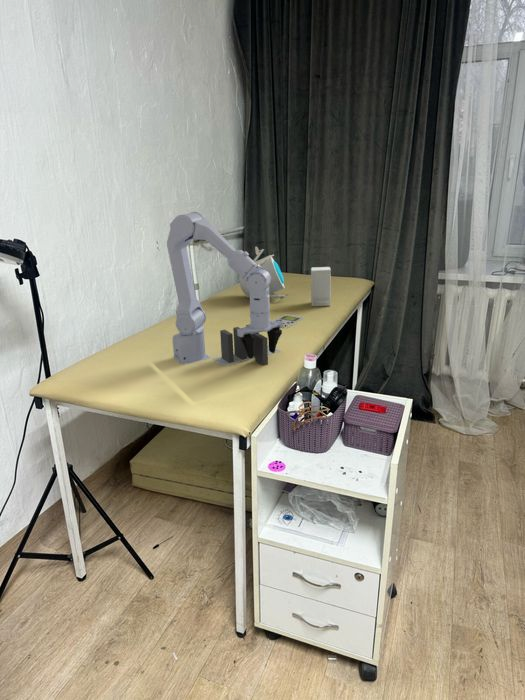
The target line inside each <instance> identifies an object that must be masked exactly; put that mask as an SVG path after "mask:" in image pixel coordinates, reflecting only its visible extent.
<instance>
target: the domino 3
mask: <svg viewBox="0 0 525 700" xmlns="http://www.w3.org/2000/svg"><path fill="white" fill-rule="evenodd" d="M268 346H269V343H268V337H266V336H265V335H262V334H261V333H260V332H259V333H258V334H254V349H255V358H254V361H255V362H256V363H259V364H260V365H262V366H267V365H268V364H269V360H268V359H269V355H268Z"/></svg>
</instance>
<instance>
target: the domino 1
mask: <svg viewBox="0 0 525 700" xmlns="http://www.w3.org/2000/svg"><path fill="white" fill-rule="evenodd" d="M219 335H220V348H221V349H220V350H221V357H222V358H223V359H224V360H226V361H227V362H228V363H232V362H234V354H235V353H234V333H231V332H230V331H229V330H226V329H222V330H221V329H220V330H219Z"/></svg>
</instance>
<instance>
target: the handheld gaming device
mask: <svg viewBox="0 0 525 700" xmlns="http://www.w3.org/2000/svg"><path fill="white" fill-rule="evenodd" d="M303 318H304V319H305V316H300V315H293V314H287V313H285V314H283V315H281V316H279V317H278V318H276V319H274V320H273V321H282V322H283V327H285V325H286V327H288V325H289V328H291V327H292V326H294V325H296V324H297V323H299V322H301V321H302V320H303ZM298 321H299V322H298ZM295 323H296V324H295ZM293 324H294V325H293ZM290 326H291V327H290Z"/></svg>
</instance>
